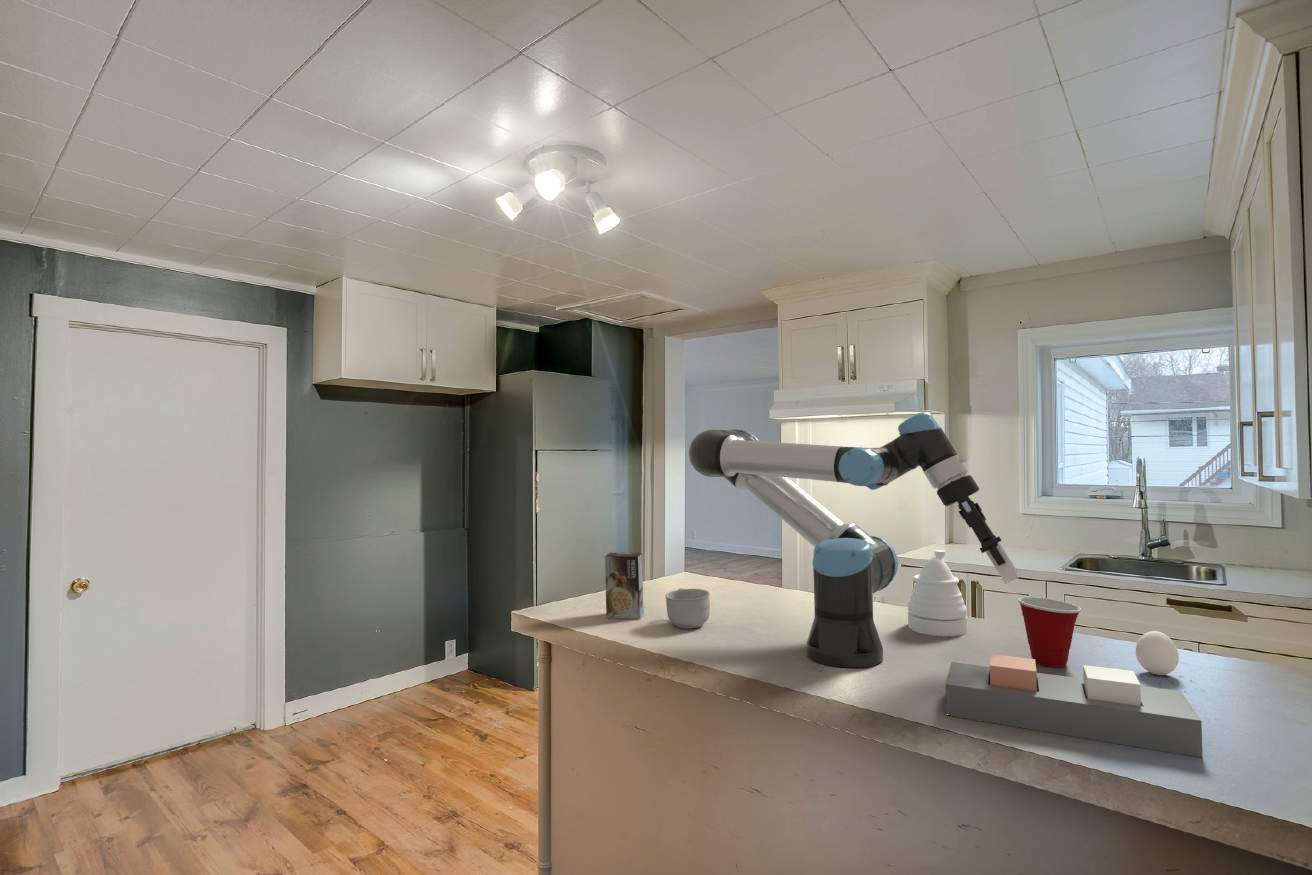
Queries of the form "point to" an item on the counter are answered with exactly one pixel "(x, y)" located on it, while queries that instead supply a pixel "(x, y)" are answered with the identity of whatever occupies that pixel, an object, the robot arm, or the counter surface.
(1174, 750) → the key console
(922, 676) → the counter surface
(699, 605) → the teacup
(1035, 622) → the plastic cup
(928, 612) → the honey pot
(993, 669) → the terracotta key
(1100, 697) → the offwhite key
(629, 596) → the coffee box
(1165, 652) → the egg
